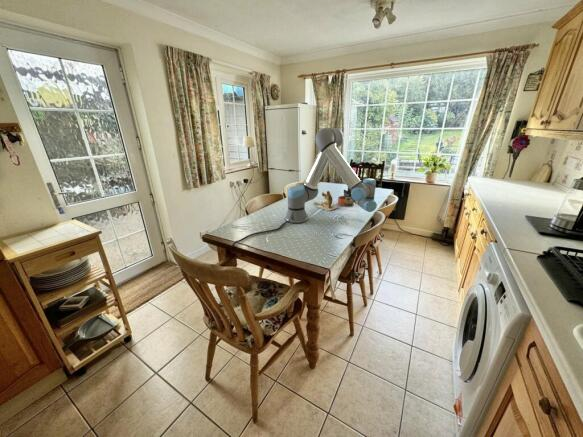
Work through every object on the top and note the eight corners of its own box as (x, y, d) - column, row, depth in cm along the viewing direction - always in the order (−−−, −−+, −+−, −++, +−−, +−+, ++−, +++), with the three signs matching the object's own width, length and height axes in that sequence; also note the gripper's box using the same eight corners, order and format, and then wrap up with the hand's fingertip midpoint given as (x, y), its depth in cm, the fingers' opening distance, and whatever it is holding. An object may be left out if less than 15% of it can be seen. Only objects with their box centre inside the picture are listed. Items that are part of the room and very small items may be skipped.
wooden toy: (338, 208, 187) (339, 191, 182) (329, 211, 181) (330, 194, 176) (319, 202, 204) (320, 186, 199) (310, 204, 198) (311, 188, 193)
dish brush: (352, 206, 172) (354, 184, 166) (347, 206, 171) (348, 185, 165) (349, 203, 177) (351, 183, 171) (344, 204, 176) (345, 183, 171)
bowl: (343, 207, 189) (344, 201, 187) (334, 203, 200) (334, 196, 198) (357, 205, 194) (357, 198, 192) (347, 201, 205) (347, 194, 203)
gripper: (348, 206, 154) (336, 196, 176) (370, 204, 157) (355, 195, 178) (349, 195, 152) (336, 186, 173) (371, 193, 154) (356, 185, 176)
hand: (346, 191), depth 176 cm, fingers closed on dish brush, 3 cm apart
